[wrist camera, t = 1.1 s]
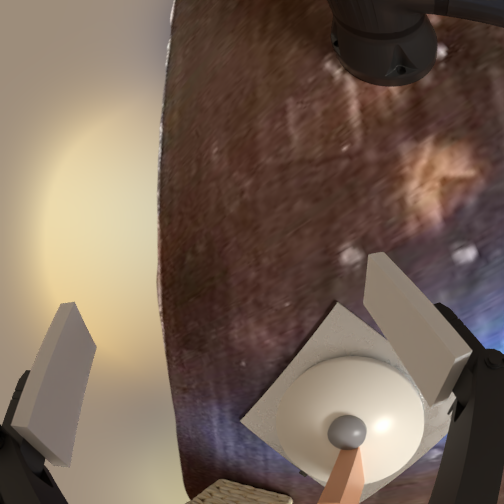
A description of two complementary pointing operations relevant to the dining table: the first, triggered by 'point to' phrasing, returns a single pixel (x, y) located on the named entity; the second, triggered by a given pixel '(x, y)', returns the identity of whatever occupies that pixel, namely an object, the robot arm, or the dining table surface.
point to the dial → (350, 424)
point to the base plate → (339, 345)
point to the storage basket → (238, 495)
